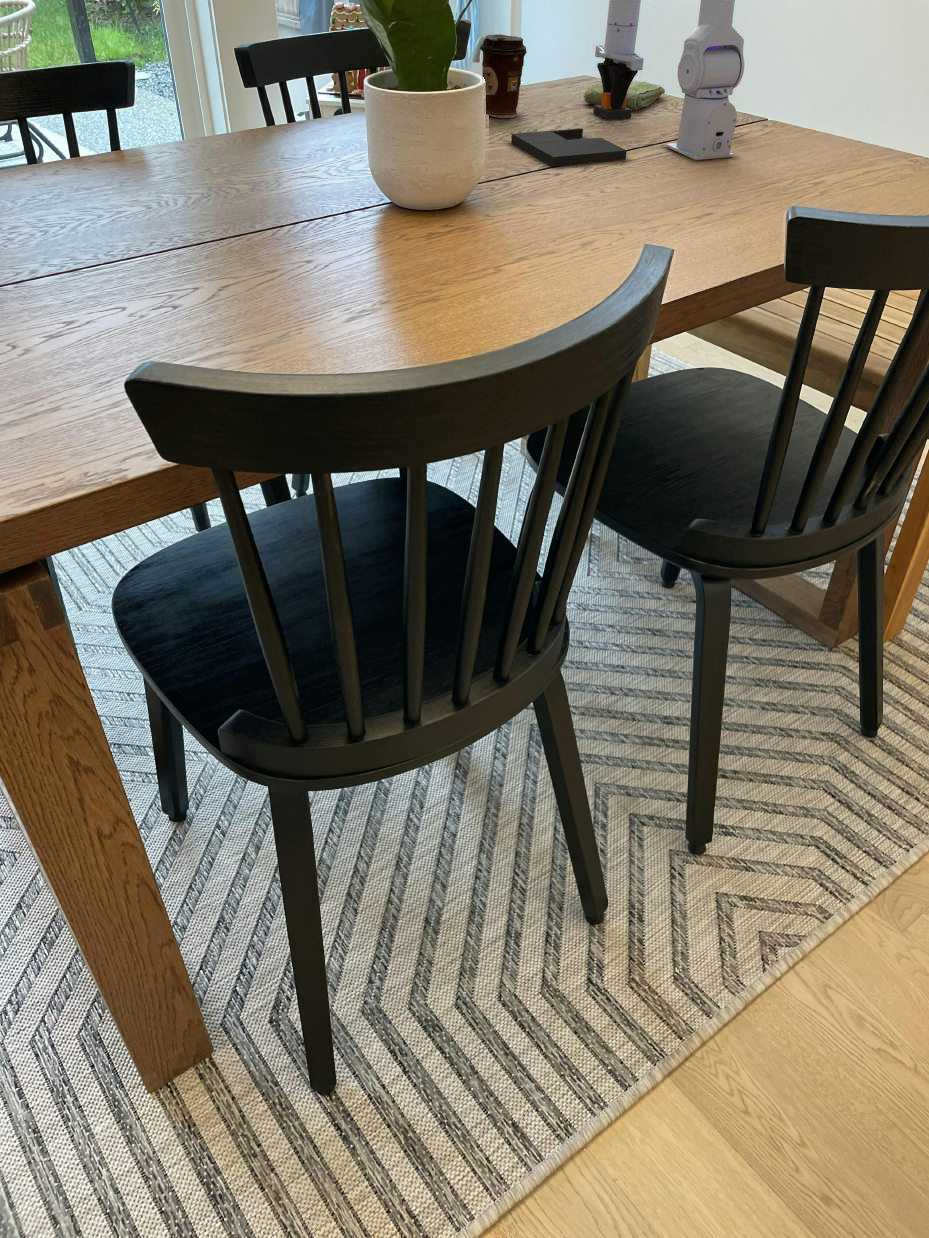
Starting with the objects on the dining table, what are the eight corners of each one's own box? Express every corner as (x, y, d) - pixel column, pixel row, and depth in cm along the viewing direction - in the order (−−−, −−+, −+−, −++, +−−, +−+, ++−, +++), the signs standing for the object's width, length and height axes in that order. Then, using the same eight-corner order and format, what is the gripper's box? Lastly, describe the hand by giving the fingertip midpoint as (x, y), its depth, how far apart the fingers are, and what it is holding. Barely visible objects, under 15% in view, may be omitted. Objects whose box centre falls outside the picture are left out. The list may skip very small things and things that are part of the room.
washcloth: (666, 97, 195) (669, 80, 193) (638, 113, 183) (641, 95, 181) (608, 90, 199) (610, 73, 197) (577, 105, 187) (579, 87, 185)
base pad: (625, 160, 156) (627, 150, 155) (552, 166, 152) (553, 157, 151) (580, 137, 167) (581, 128, 166) (511, 143, 163) (511, 133, 162)
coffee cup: (484, 121, 175) (487, 41, 166) (472, 111, 181) (474, 33, 172) (528, 119, 177) (532, 40, 168) (514, 109, 183) (518, 32, 174)
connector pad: (630, 118, 179) (633, 95, 177) (606, 120, 178) (609, 96, 175) (616, 112, 183) (619, 89, 181) (593, 113, 181) (595, 91, 179)
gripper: (584, 19, 174) (577, 99, 183) (623, 31, 164) (613, 116, 173) (617, 17, 176) (608, 97, 185) (657, 29, 166) (646, 113, 175)
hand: (613, 106), depth 179 cm, fingers closed on connector pad, 2 cm apart
